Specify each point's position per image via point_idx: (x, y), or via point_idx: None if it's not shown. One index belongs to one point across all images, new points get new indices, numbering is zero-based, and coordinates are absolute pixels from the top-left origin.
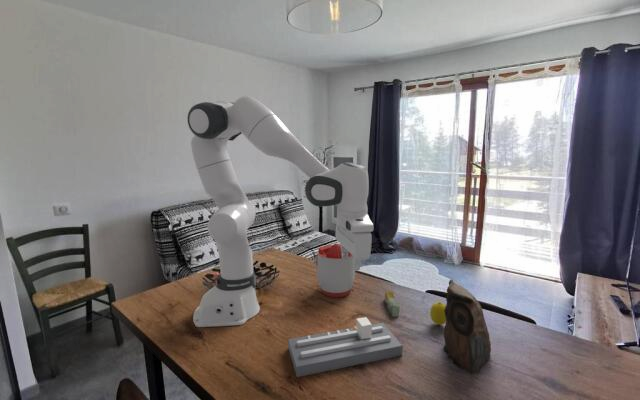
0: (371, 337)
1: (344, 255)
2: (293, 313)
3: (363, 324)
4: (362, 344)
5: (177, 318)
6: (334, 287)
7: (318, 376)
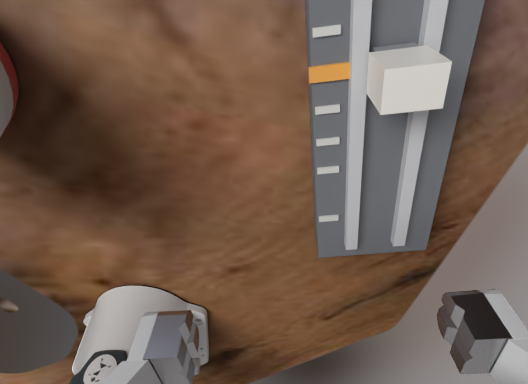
0: (394, 31)
1: (192, 360)
2: (153, 220)
3: (433, 98)
4: None
5: None
6: (1, 106)
7: None
